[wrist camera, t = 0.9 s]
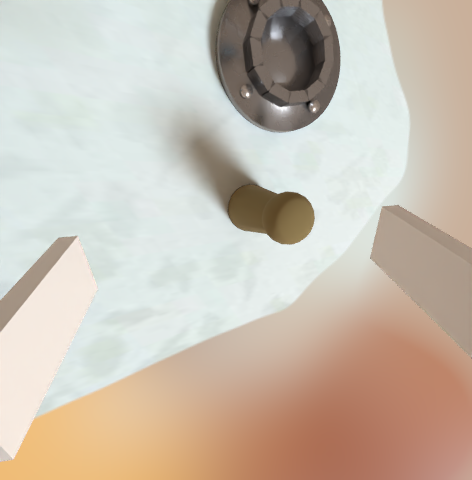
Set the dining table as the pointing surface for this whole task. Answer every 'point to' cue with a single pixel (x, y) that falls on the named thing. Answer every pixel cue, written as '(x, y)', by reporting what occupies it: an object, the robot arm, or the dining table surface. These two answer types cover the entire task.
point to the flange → (278, 61)
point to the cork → (272, 213)
